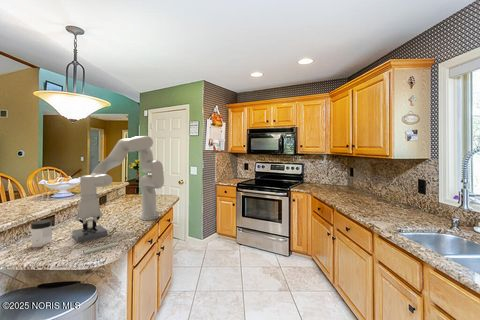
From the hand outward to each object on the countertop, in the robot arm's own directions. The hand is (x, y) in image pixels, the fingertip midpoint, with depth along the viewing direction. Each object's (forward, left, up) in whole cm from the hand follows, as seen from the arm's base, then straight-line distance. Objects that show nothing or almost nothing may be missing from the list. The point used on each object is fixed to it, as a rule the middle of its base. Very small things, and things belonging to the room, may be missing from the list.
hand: (89, 229), depth 130 cm
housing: (0, 0, -5) cm, 5 cm away
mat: (0, +17, -5) cm, 18 cm away
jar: (+20, -7, -5) cm, 22 cm away
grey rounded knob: (0, 0, -4) cm, 4 cm away
